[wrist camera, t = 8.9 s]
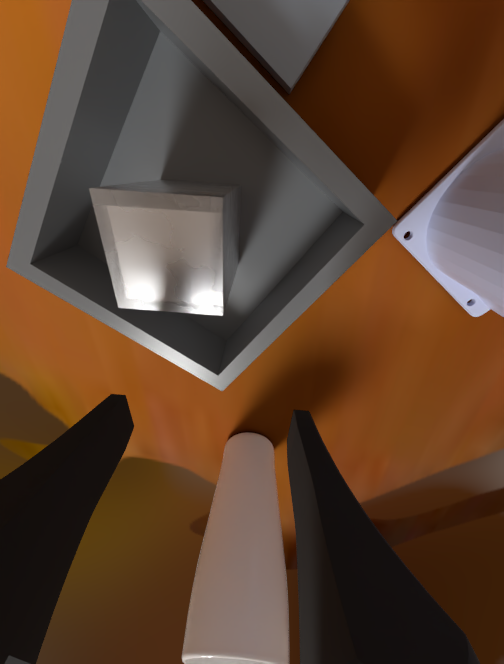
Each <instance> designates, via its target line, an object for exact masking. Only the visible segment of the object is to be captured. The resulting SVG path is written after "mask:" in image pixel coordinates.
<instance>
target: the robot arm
mask: <svg viewBox="0 0 504 664" xmlns="http://www.w3.org/2000/svg"><path fill="white" fill-rule="evenodd" d="M408 231H410V235H409V237H408V238H406V239H404V234H405V233H406V232H408ZM392 234H393V236H394V237H395V238H396V239H397V240H398V241H399V242H400V243H401V244H402V245H403V246H404V247H405V248H406V249H407V250H408V251H409V252H410V253H411V254H412V255H413V256H414V257H415V258H416V260H417V261H418V262H419V263H420V264H421V265H422V266H423V267H424V268H425V269H426V270H427V271H428V272H429V273H430V274H431V275H432V276H433V277H434V278H435V279H436V280H437V281H438V282H439V283H440V284H441V285H442V286H443V287H444V288H445V290H446V291H447V292H448V293H449V294H450V295H451V296H452V297H453V298H454V299H455V300H456V301H457V302H458V303H459V304H460V305H461V306H462V307H463V308H464V309H465V310H466V311H467V312H468V313H469V314H470V315H471V316H473V317H478V316H481V315H483V314H484V313H486V312H487V311H489V310H490V309H492V310H493V311H495V312H496V313H498V314H500V315H501V316H503V317H504V119H503V120H502V121H501V122H500V123H499V124H498V125H497V126H496V127H495V128H494V129H493V130H492V131H491V132H490V133H489V134H488V135H486V136H485V137H484V138H483V139H482V140H481V141H480V142H479V143H478V144H477V145H476V146H475V147H474V148H473V149H472V150H471V151H470V152H469V153H468V154H467V155H466V156H465V157H464V158H463V159H462V160H461V161H460V162H459V163H458V164H457V165H456V166H455V167H454V168H452V169H451V170H450V171H449V172H448V173H447V174H446V175H445V176H444V177H443V178H442V179H441V180H440V181H439V182H438V183H437V184H436V185H435V186H434V187H433V188H432V189H431V190H430V191H429V192H428V193H427V194H426V195H425V196H424V197H423V198H422V199H421V200H420V201H418V202H417V203H416V204H415V205H414V206H413V207H412V208H411V209H410V210H409V211H408V212H407V213H406V214H405V215H404V216H403V217H402V218H401V219H400V220H399V221H398V222H397V223H396V224H395V225H394V226H393V229H392ZM471 299H472V300H471ZM469 300H471V301H470V302H469V303H467V302H468V301H469ZM133 428H134V424H133V421H132V417H131V413H130V410H129V406H128V402H127V399H126V395H117V394H111V395H110V396H109V397H107V398H106V399H105V400H104V401H102V402H101V403H100V404H99V405H98V406H96V407H95V408H94V409H93V410H92V411H90V412H89V413H88V414H87V415H86V416H84V417H83V418H82V419H81V420H80V421H78V422H77V423H76V424H75V425H74V426H72V427H71V428H70V429H69V430H67V431H66V432H65V433H64V434H63V435H61V436H60V437H59V438H57V439H56V440H55V441H54V442H52V443H51V444H50V445H48V446H47V447H46V448H44V449H43V450H42V451H40V452H39V453H38V454H36V455H35V456H34V457H32V458H31V459H30V460H28V461H27V462H25V463H24V464H23V465H21V466H20V467H19V468H17V469H15V470H14V471H12V472H11V473H9V474H8V475H7V476H5V477H4V478H2V479H0V664H36V662H37V659H38V655H39V652H40V649H41V646H42V643H43V640H44V637H45V635H46V632H47V629H48V626H49V623H50V620H51V617H52V614H53V611H54V609H55V606H56V603H57V601H58V598H59V595H60V592H61V590H62V587H63V584H64V582H65V579H66V576H67V574H68V571H69V569H70V566H71V564H72V561H73V559H74V556H75V554H76V551H77V549H78V546H79V544H80V541H81V539H82V536H83V534H84V532H85V529H86V527H87V524H88V522H89V520H90V518H91V515H92V513H93V511H94V509H95V507H96V505H97V503H98V501H99V499H100V497H101V496H102V494H103V492H104V490H105V488H106V486H107V484H108V482H109V480H110V478H111V477H112V475H113V473H114V471H115V469H116V467H117V465H118V463H119V461H120V459H121V457H122V455H123V453H124V451H125V449H126V447H127V444H128V442H129V439H130V436H131V434H132V431H133ZM287 458H288V471H289V479H290V487H291V495H292V503H293V511H294V519H295V529H296V542H297V564H298V591H299V626H300V664H480V662H479V660H478V658H477V656H476V654H475V653H474V650H473V648H472V646H471V644H470V643H469V641H468V639H467V637H466V635H465V633H464V632H463V631H462V630H461V629H460V628H459V627H458V626H457V624H456V623H455V622H454V621H453V620H452V619H451V618H450V617H449V616H448V614H447V613H446V612H445V611H444V610H443V609H442V608H441V607H440V605H439V604H438V603H437V602H436V601H435V600H434V599H433V598H432V597H431V595H430V594H429V593H428V592H427V591H426V590H425V588H424V587H423V586H422V585H421V583H420V582H419V581H418V580H417V579H416V577H415V576H414V575H413V574H412V573H411V572H410V570H409V569H408V568H407V567H406V566H405V564H404V563H403V562H402V561H401V559H400V558H399V557H398V555H397V554H396V553H395V551H394V550H393V549H392V548H391V546H390V545H389V544H388V543H387V541H386V540H385V539H384V537H383V536H382V535H381V534H380V532H379V531H378V529H377V528H376V527H375V525H374V524H373V523H372V521H371V520H370V518H369V517H368V516H367V514H366V513H365V511H364V510H363V508H362V507H361V505H360V504H359V502H358V501H357V499H356V498H355V496H354V495H353V493H352V492H351V490H350V489H349V487H348V485H347V484H346V482H345V480H344V479H343V477H342V475H341V474H340V472H339V470H338V469H337V467H336V465H335V463H334V461H333V460H332V458H331V456H330V454H329V452H328V450H327V448H326V446H325V445H324V443H323V441H322V438H321V436H320V434H319V432H318V430H317V428H316V426H315V423H314V421H313V419H312V416H311V414H310V412H309V411H303V410H294V411H293V416H292V420H291V425H290V429H289V433H288V438H287Z"/></svg>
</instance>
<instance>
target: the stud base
mask: <svg viewBox="0 0 504 664" xmlns="http://www.w3.org/2000/svg"><path fill="white" fill-rule="evenodd" d="M203 1H204V3H205V4H206V5H207V6H208V7H209V8H210V9H211V10H212V11H213V12H214V13H215V15H216V16H217V17H218V18H219V19H220V20H221V21H222V22H223V23H224V24H225V25H226V26H227V28H228V29H229V30H230V31H231V32H232V33H233V34H234V35H235V36H236V37H237V38H238V39H239V41H240V42H241V43H242V44H243V45H244V46H245V47H246V48H247V49H248V50H249V51H250V53H251V54H252V55H253V56H254V57H255V58H256V59H257V60H258V61H259V62H260V63H261V64H262V66H263V67H264V68H265V69H266V70H267V71H268V72H269V73H270V74H271V75H272V76H273V77H274V79H275V80H276V81H277V82H278V83H279V84H280V85H281V86H282V87H283V88H284V89H285V91H286V92H287V93H288V94H290V93H291V91H292V90H293V88H294V87H295V85H296V83H297V82H298V80H299V79H300V77H301V76H302V74H303V72H304V71H305V69H306V68H307V66H308V65H309V63H310V62H311V60H312V58H313V57H314V55H315V54H316V52H317V51H318V49H319V47H320V46H321V44H322V43H323V41H324V40H325V38H326V37H327V35H328V33H329V32H330V30H331V29H332V27H333V26H334V24H335V22H336V21H337V19H338V18H339V16H340V15H341V13H342V11H343V10H344V8H345V7H346V5H347V4H348V2H349V1H350V0H203Z"/></svg>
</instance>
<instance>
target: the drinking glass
mask: <svg viewBox="0 0 504 664" xmlns="http://www.w3.org/2000/svg"><path fill="white" fill-rule="evenodd" d="M182 661H183V663H185V664H289V615H288V594H287V579H286V568H285V558H284V549H283V540H282V531H281V522H280V513H279V503H278V494H277V484H276V474H275V461H274V448H273V445H272V443H271V442H270V441H269V440H268V439H267V438H266V437H264V436H262V435H260V434H257V433H251V432H245V433H239V434H236V435H234V436H232V437H231V438H230V439H229V440H228V441H227V443H226V445H225V448H224V455H223V461H222V465H221V470H220V474H219V478H218V482H217V486H216V491H215V495H214V499H213V503H212V507H211V511H210V515H209V519H208V523H207V527H206V532H205V536H204V540H203V544H202V548H201V552H200V556H199V560H198V565H197V569H196V574H195V579H194V584H193V589H192V594H191V601H190V606H189V612H188V619H187V625H186V633H185V639H184V646H183V653H182Z"/></svg>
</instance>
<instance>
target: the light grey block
mask: <svg viewBox="0 0 504 664" xmlns="http://www.w3.org/2000/svg"><path fill="white" fill-rule="evenodd" d="M89 191H90V195H91V199H92V203H93V207H94V211H95V215H96V219H97V223H98V227H99V231H100V235H101V239H102V243H103V248H104V252H105V256H106V260H107V264H108V268H109V272H110V276H111V280H112V284H113V288H114V292H115V296H116V300H117V304H118V308H127V309H141V310H154V311H167V312H180V313H194V314H207V315H220V316H223V314H224V311H225V307H226V304H227V301H228V297H229V294H230V291H231V288H232V284H233V281H234V278H235V274H236V271H237V268H238V261H239V227H240V193H241V185H229V184H215V183H200V182H186V181H171V180H154V181H145V182H137V183H128V184H120V185H111V186H103V187H94V188H89Z"/></svg>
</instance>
